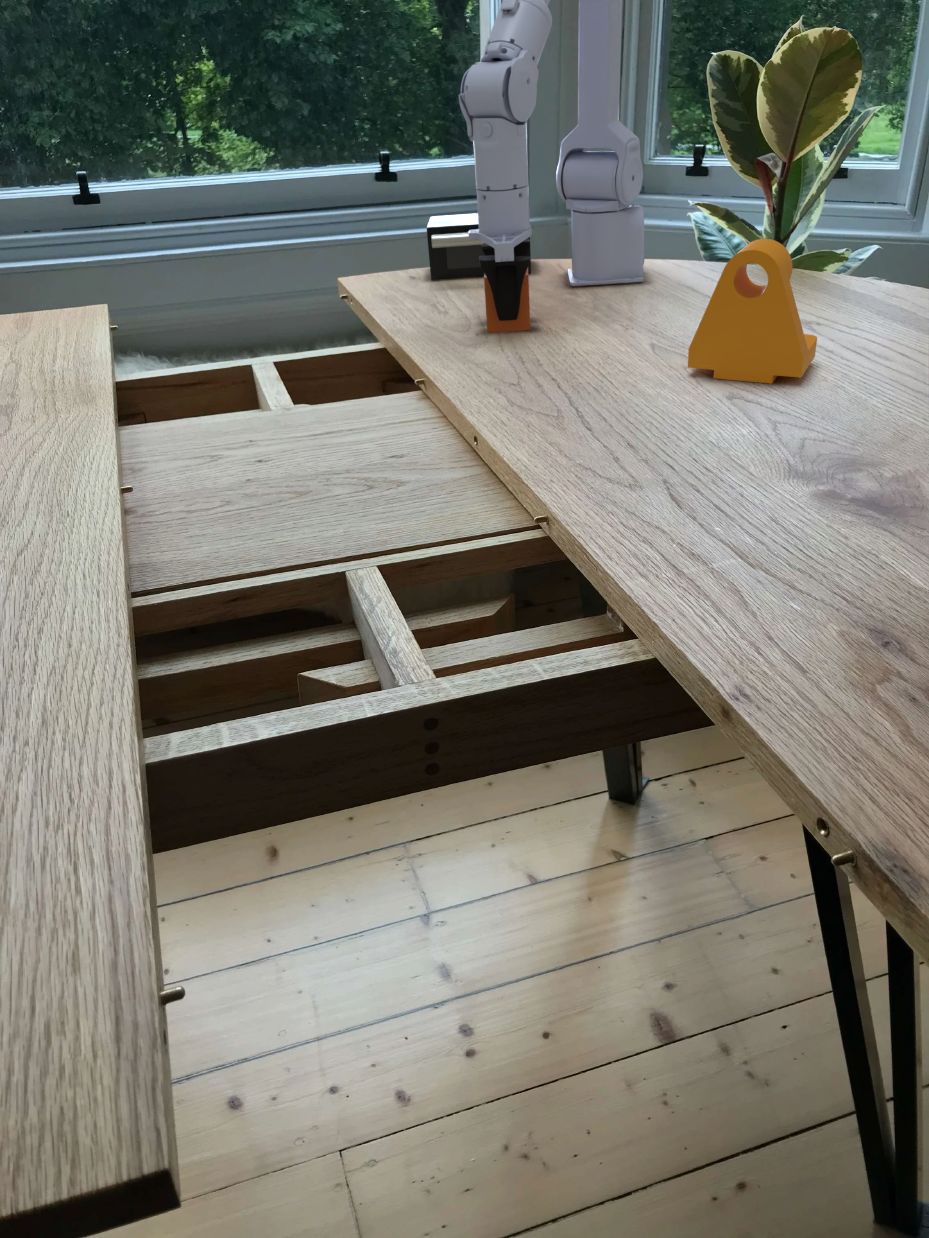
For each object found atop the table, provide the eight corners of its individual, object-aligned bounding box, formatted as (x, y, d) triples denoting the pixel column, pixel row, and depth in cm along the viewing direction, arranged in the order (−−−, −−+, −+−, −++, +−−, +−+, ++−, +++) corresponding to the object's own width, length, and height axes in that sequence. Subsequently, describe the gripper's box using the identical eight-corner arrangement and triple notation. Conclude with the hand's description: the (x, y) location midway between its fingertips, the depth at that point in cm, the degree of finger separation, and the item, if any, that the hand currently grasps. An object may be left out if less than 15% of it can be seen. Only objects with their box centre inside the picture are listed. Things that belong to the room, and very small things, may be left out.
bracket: (815, 362, 96) (831, 234, 90) (800, 386, 91) (815, 252, 85) (708, 353, 101) (715, 231, 95) (687, 375, 96) (694, 248, 89)
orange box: (529, 319, 116) (528, 266, 113) (530, 330, 113) (528, 275, 109) (488, 322, 117) (484, 268, 113) (487, 333, 113) (483, 277, 110)
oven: (530, 261, 142) (528, 209, 139) (531, 283, 131) (529, 228, 127) (435, 267, 143) (430, 216, 140) (428, 290, 132) (423, 235, 128)
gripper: (468, 179, 113) (476, 298, 120) (462, 200, 101) (471, 332, 108) (529, 174, 112) (533, 294, 120) (531, 196, 100) (535, 328, 107)
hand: (508, 312), depth 114 cm, fingers open, 5 cm apart
